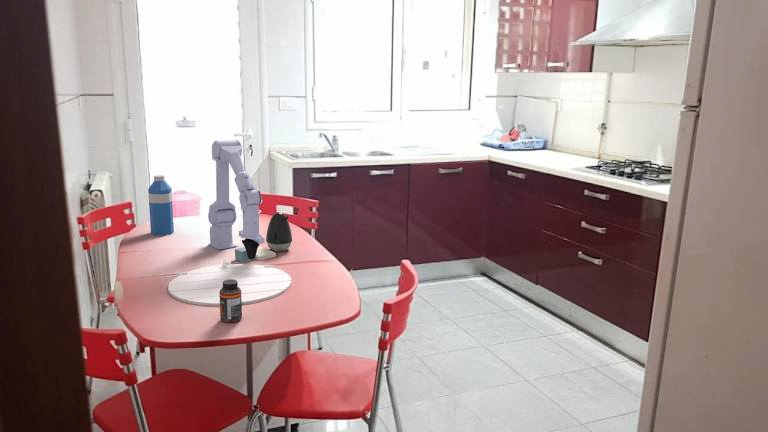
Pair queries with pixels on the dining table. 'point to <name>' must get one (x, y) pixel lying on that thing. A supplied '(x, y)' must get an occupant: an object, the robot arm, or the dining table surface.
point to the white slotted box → (264, 254)
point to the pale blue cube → (241, 255)
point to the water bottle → (160, 207)
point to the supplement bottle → (230, 301)
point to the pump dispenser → (279, 233)
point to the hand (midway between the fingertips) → (251, 258)
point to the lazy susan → (209, 280)
